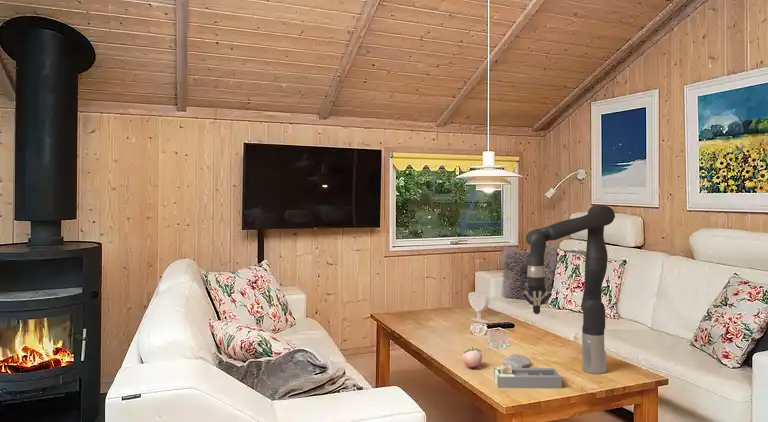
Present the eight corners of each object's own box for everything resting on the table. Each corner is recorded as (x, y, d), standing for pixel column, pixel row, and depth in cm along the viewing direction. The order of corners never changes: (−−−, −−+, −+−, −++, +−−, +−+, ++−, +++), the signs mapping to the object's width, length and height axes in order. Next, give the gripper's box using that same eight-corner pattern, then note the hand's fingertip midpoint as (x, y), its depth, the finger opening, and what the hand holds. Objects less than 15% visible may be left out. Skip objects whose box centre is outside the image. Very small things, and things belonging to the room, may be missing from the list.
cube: (510, 374, 218) (510, 364, 217) (511, 377, 214) (511, 368, 213) (500, 374, 218) (500, 364, 218) (502, 377, 214) (502, 368, 214)
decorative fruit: (469, 372, 229) (469, 350, 229) (459, 367, 237) (459, 346, 236) (486, 369, 233) (486, 348, 233) (476, 364, 240) (476, 343, 240)
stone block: (531, 368, 239) (511, 360, 245) (533, 359, 238) (513, 351, 244) (521, 376, 230) (501, 368, 235) (523, 366, 229) (503, 358, 235)
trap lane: (554, 378, 220) (554, 367, 220) (561, 388, 208) (561, 376, 208) (494, 377, 222) (494, 367, 222) (498, 387, 210) (497, 376, 210)
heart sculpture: (467, 318, 330) (467, 291, 330) (473, 317, 333) (472, 290, 333) (485, 323, 318) (484, 294, 317) (490, 321, 320) (490, 293, 320)
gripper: (549, 273, 229) (549, 311, 229) (519, 274, 230) (519, 311, 230) (553, 276, 221) (553, 315, 222) (522, 276, 222) (523, 315, 223)
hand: (536, 313), depth 226 cm, fingers closed
